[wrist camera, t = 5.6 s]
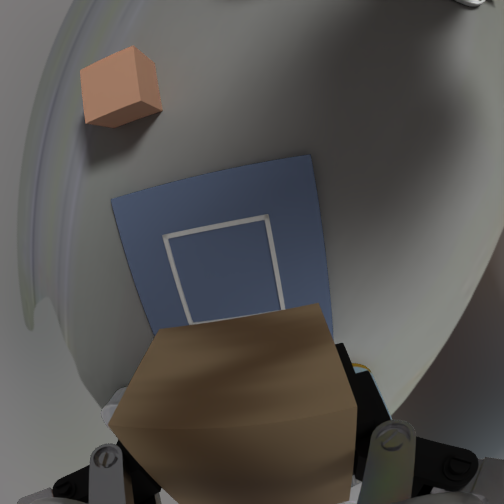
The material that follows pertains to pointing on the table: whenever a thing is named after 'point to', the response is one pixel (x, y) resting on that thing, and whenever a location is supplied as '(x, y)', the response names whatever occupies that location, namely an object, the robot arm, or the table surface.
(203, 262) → the board
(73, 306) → the table surface
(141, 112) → the terracotta cube
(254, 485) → the oak block
